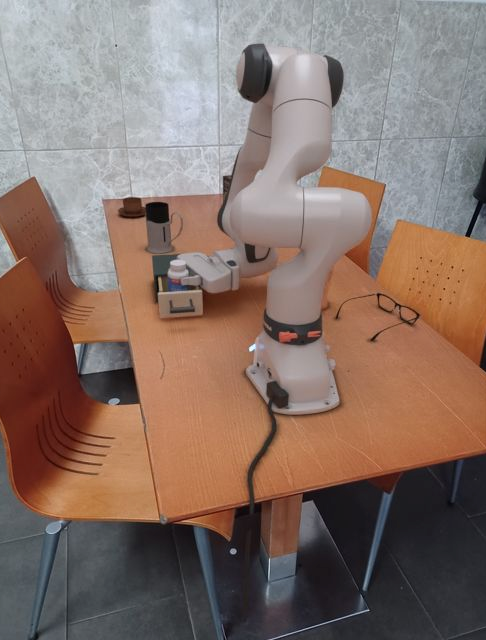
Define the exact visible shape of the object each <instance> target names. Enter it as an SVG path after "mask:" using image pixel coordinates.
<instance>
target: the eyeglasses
mask: <svg viewBox="0 0 486 640" xmlns="http://www.w3.org/2000/svg"><path fill="white" fill-rule="evenodd" d="M372 296H376V297H377V305H378V307H379V308H380V309H381V310H383V311H385V312H386V313H387V312H388V313H392V312H394V311H395V309H397V307H398V311H397V314H399V317H400V320H402V322H400V323H397V324H395V325H392V326H391V325H390V326H389V327H386V328H384V329H382V330H380V331H378V332H377V333H375V334H374V335H373V336H372V337H371V338H370V340H369V341H375V340H376V339H377V337H379V335H380V334H382V332H385V331H387V330H389V329H390V328H393V327H395V326H398V325H399V326H400V325H402V324H405V323H407V324H409V325H414V324H415V323H416V322H417V321H418V319H420V318H421V314H420V313H418V312H417V311H416V310H415V309H414V308H411V307H410V306H407V305H402V304H400V303H398V302H396V301H395V300H394V299H393V298H391V297H390V296H388V295H387V294H383V293H380V292H377V293H371V294H368V295H362V296H358V297H357V296H356V297H352V298H349V299H347V300H345V301H344V302H343V303H342V304H341V305H340V306H339V308H338V311H337V312H336V317H335V319H336V320H337V319H339V315H340V312H341V309H342V307H343V305H344V304H345V303H347V302H348V301H351V300H355V299H361V298H367V297H372ZM381 296H382V297H385V298H388V299H389V300H391V302H392V303H393V304H394V307H393V308H392V309H391V310H387V309H385V308H383V307H382V306H381V305H380V297H381ZM401 308H405V309H407V310H410V311H412V312H413V313H415V317H413V318H411V319H408V320H405V319H404V318H403V317H402V314H401V313H402V312H401V311H402V309H401ZM411 321H413V322H411Z"/></svg>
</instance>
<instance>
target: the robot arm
mask: <svg viewBox="0 0 486 640" xmlns="http://www.w3.org/2000/svg"><path fill="white" fill-rule="evenodd" d="M235 69H236V70H235V81H236V85H237V91H238V93H239V95H240V97H241V98H242V99H243V100H245V101H247V102H250V103H252V104H251V109H250V113H249V118H248V123H247V129H246V134H245V138H244V142H243V144H242V145H241V146H240V148H239V149H238V151H237V154H236V157H235V160H234V163H233V167H232V171H231V174H230V175H231V179H230V183H229V186H228V190H227V194H226V197H225V200H224V202H223V201H222V204H221V206H220V208H219V210H218V213H217V217H216V223H217V226H218V229H219V230H220V231H221V232H222V233H223V234H225V235H226V236H227V237H229V238H230V239H231V240H232V241H233V242H234V246H233V247H232V248H228V249H222V250H216V251H212V252H211V254H210V256H209V255H206V254H205V253H203V252H199V251H197V252H186V253H179V254H180V255H178V256H177V260H183V261H185V262H186V268H185V269H187V270H188V272H189V277H186V276H184V277H180V278H179V282H180V284H181V285H183V286H184V285H200V288H201V289H203V290H204V291H206V292H207V293H208V294H220V293H223V292H228V291H237V290H239V288H240V287H239V286H240V280H241V279H242V280H243V279H253V278H256V277H260V276H263V275H266V274H268V273H269V275H268V277H267V281H266V302H265V308H264V310H263V315H262V328H263V329H262V331H261V332H260V333H259V334H258V335H257V337H256V338H255V341H254V344H252V345H251V346H250V347H249V348H248V349H249V352H252V351H253V350H254V351H253V363H252V364H250V365H249V366H247V367H246V368H245V375H246V377H247V378H248V379H249V380H250V382H251V384H252V385H253V386H254V388H255V389H256V390H257V392H258V393H259V395H260V396H261V397H262V399H263V400H264V402H265V403H266V404H267V412H268V414H269V417H270V419H271V421H272V427H271V431H270V433H269V435H268V437H267V438H266V440H265V442H264V443H263V445H262V448H261V449H260V450H259V451H258V453H257V454H256V456H255V457H254V458H253V460H252V461H251V463H250V466H249V468H248V472H247V486H248V494H249V509H248V510H249V511H248V513H249V515H250V516H252V515H254V514H255V491H254V485H253V473H254V469H255V466H256V465H257V463H258V461H259V460H260V458H261V457H262V456H263V455H264V453H265V451H266V450H267V448H268V446H269V445H270V443H271V441H272V439H273V437H275V434H276V431H277V419H276V416H275V414H274V413H277V414H283V415H290V416H291V415H296V416H297V415H298V416H299V415H310V414H311V415H312V414H318V413H323V412H327V411H330V410H333V409H335V408H336V407H338V406H339V405H340V396H339V392H338V388H337V384H336V380H335V376H334V373H333V371H335V370H336V360H335V359H334V358H328V353H327V352H329V351H330V345H329V344H326V342H325V338H324V335H325V333H324V332H323V325H324V321H323V313H322V309H321V304H322V298H323V292H324V288H325V283H326V280H327V277H328V275H329V273H330V271H331V270H332V268H333V267H334V268H335V266H336V264H337V263H338V262H339V260H341V258H342V257H343V256H344V255H346V254H347V253H348V252H351V250H353V249H354V248H356V247H357V246H359V245H361V243H362V242H363V241H364V240H365V239H366V238H367V236H368V234H369V232H370V230H371V227H372V224H373V223H372V222H373V211H372V207H371V205H370V202H369V201H368V198H367V197H366V196H365V195H364V193H362V192H359V191H355V190H352V189H347V188H343V187H335V186H334V187H333V186H303V185H299V184H298V181H300V180H301V179H302V178H304V177H305V176H307V175H310V174H312V173H314V172H316V171H318V170H319V169H321V168H322V167H323V166H324V165H325V164H326V163H327V162H328V160H329V158H330V157H331V154H332V150H333V149H332V147H333V146H332V145H333V144H332V143H333V141H332V139H333V109H334V107H336V106H337V104H338V102H339V101H340V98H341V95H342V92H343V89H344V80H345V78H344V77H345V75H344V69H343V66H342V63H341V62H340V61H339V60H338V59H337V58H334V57H332V56H330V55H327V54H324V55H321V54H318V53H316V52H315V53H314V52H312V51H311V52H310V51H308V50H303V49H299V48H296V47H293V46H284V45H266V44H265V43H251V44H248V45H247V46H245V48H244V49H243V50H242V51H241V54H240V57H239V59H238V62H237V63H236V68H235ZM259 171H260V173H259ZM258 173H259V174H258ZM257 174H258V176H257ZM256 176H257V177H256ZM278 249H300V250H299V251H298V253H297V254H296V255H295V256H293V257H292V258H291V259H289V260H286V261H284V262H282V263H280V264H278V262H279V252H278ZM170 269H171V268H169V270H170ZM252 532H253V529H247V530H246V536H245V548H244V549H245V550H244V563H243V567H244V568H243V588H242V589H243V590H242V591H243V595H242V597H243V598H242V623H243V624H244V623H247V619H248V616H247V615H248V596H249V595H248V594H249V572H250V568H249V567H250V553H251V543H252V542H251V541H252V540H251V539H252Z"/></svg>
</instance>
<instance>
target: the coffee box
mask: <svg viewBox="0 0 486 640" xmlns="http://www.w3.org/2000/svg"><path fill="white" fill-rule="evenodd" d="M231 175H232V174H230V175H229V174H228V175H222V203H223V202H224V200H225V197H226V194H227V190H228V186H229V183H230V179H231Z"/></svg>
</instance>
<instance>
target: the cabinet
mask: <svg viewBox="0 0 486 640" xmlns="http://www.w3.org/2000/svg"><path fill="white" fill-rule="evenodd" d="M180 254H181V253H173V254H172V253H171V254H152V255H151V261H152V274H153V286H154V296H155V297H154V299H155V303H158V293H159V285H158V276H168V271H169V268H170V262H171V261H173V260H177V256H178V255H180ZM198 286H199V290H201V286H200V285H198Z"/></svg>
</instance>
